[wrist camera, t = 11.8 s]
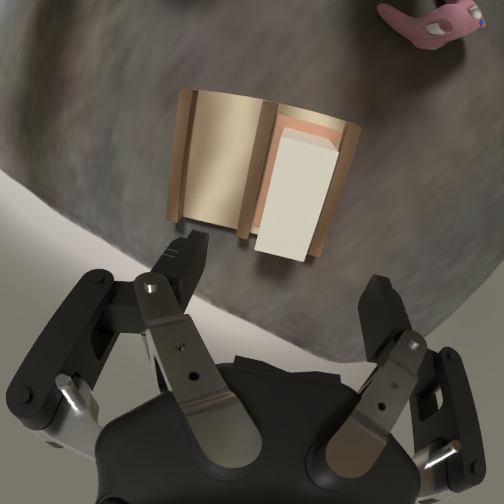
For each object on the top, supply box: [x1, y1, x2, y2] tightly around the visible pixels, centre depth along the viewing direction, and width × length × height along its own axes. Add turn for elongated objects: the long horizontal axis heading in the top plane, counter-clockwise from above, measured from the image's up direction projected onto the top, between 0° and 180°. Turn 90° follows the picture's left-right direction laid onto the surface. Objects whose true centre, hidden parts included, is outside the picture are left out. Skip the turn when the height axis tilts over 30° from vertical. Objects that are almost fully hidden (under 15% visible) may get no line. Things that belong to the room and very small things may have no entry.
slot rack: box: [166, 89, 362, 257], centre depth 25 cm, size 16×13×2 cm
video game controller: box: [377, 0, 486, 50], centre depth 13 cm, size 10×5×7 cm, turn 129°
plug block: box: [255, 127, 339, 262], centre depth 22 cm, size 9×4×6 cm, turn 169°
